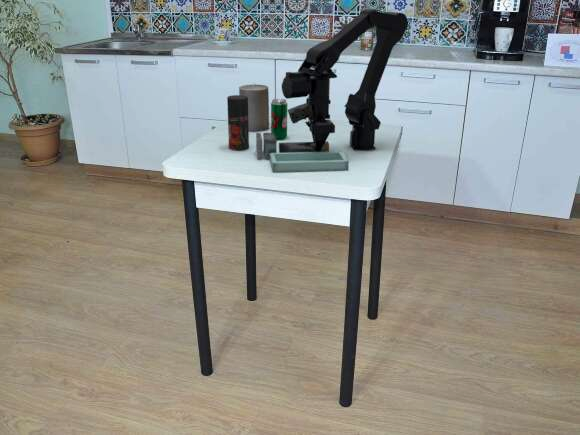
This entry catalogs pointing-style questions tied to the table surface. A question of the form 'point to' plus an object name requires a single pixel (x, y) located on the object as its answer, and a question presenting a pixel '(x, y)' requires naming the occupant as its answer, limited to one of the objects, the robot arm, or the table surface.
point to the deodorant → (238, 122)
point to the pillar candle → (257, 106)
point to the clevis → (266, 145)
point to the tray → (308, 161)
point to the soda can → (279, 118)
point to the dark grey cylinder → (301, 147)
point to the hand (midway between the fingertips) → (317, 149)
